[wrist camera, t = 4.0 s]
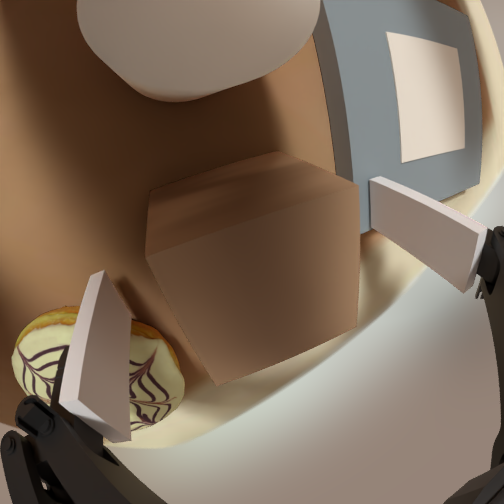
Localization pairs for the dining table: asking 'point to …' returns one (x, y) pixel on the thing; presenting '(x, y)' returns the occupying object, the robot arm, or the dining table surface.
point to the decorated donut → (140, 365)
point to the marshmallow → (194, 41)
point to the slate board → (401, 95)
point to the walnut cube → (257, 260)
